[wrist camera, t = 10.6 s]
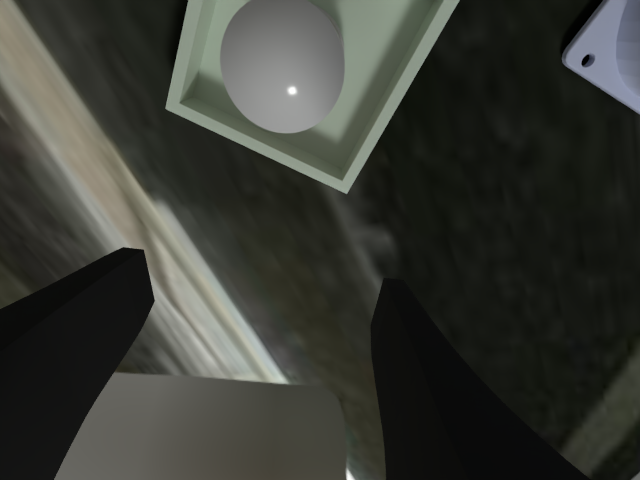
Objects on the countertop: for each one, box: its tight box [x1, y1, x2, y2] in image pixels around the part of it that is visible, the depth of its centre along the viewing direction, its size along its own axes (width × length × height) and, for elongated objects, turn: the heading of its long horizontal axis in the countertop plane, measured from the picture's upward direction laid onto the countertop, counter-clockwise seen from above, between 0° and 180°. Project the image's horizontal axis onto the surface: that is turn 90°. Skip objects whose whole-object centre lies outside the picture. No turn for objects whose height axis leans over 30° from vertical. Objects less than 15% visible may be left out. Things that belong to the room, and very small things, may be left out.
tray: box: [165, 0, 459, 194], centre depth 14 cm, size 9×9×2 cm
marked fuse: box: [220, 0, 345, 133], centre depth 12 cm, size 4×4×6 cm
